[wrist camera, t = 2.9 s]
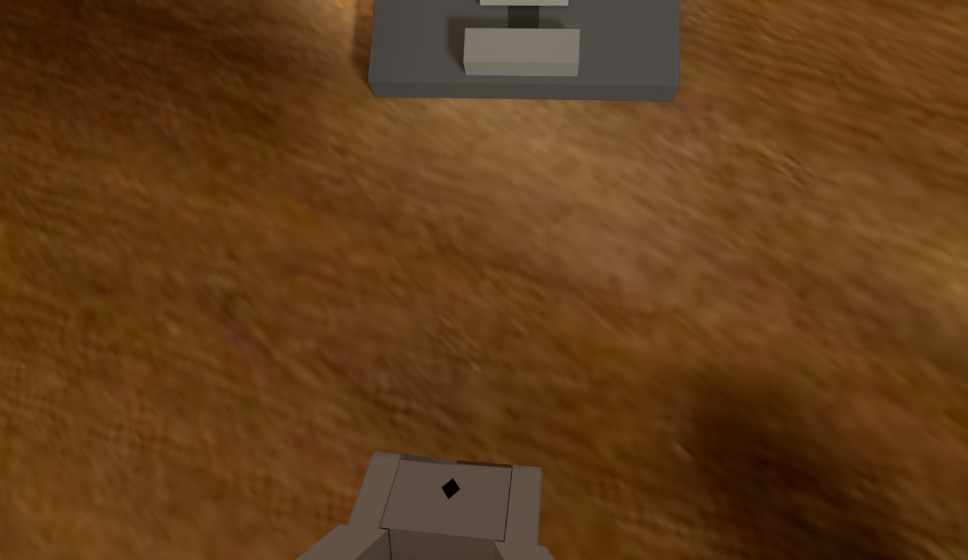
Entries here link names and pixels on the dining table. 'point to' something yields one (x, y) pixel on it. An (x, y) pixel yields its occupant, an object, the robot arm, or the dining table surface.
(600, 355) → the dining table surface
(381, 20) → the board
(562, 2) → the fader tab
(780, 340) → the dining table surface
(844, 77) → the dining table surface
